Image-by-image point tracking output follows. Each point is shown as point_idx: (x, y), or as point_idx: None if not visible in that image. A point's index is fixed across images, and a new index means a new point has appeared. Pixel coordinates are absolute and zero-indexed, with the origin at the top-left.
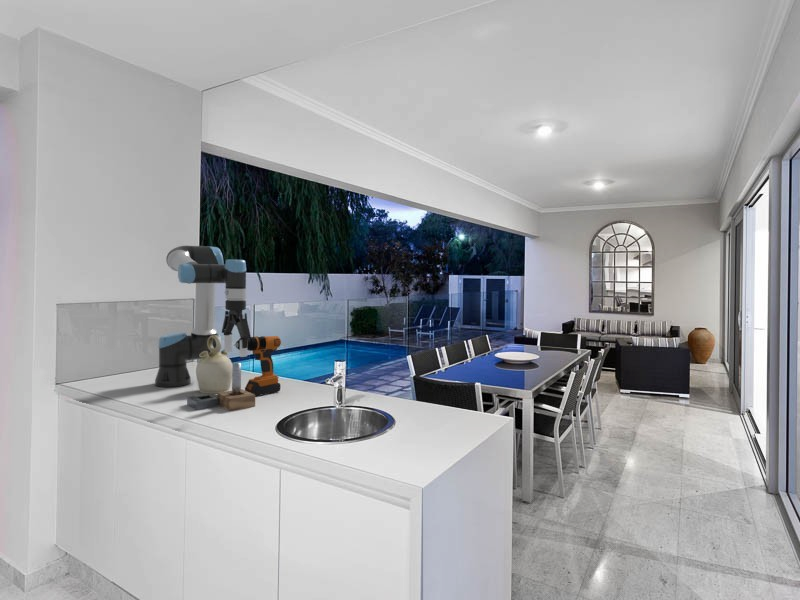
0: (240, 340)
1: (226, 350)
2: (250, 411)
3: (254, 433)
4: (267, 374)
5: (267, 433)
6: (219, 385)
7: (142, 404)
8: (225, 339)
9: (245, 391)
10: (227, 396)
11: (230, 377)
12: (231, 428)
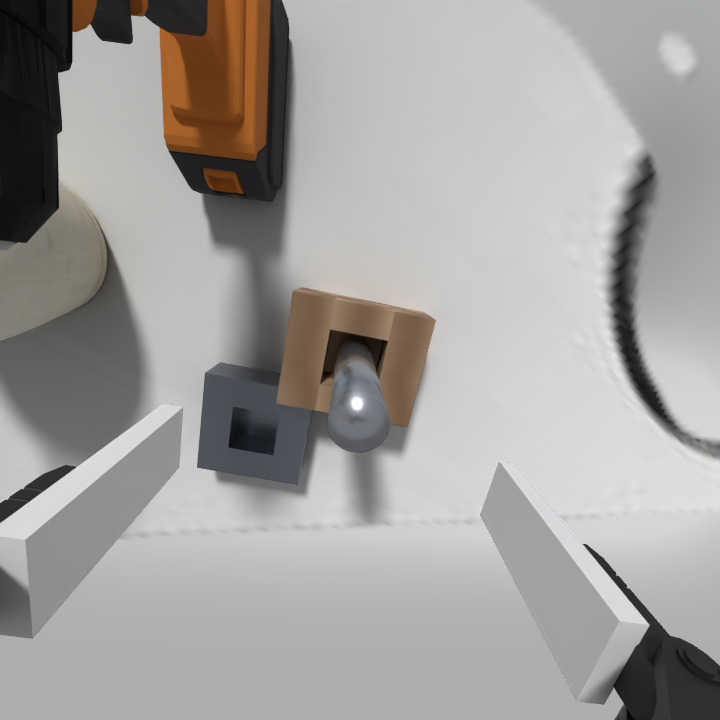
0: (592, 692)
1: (171, 464)
2: (452, 357)
3: (634, 487)
4: (216, 23)
5: (668, 467)
6: (87, 269)
7: None
8: (84, 574)
9: (349, 309)
10: None
11: None
12: None
